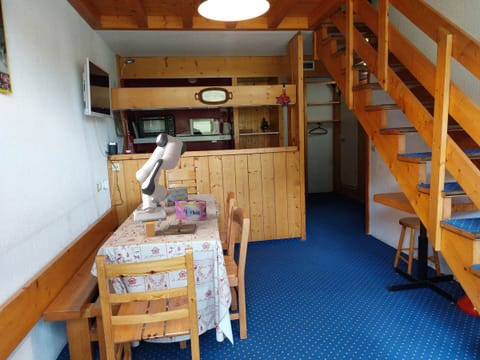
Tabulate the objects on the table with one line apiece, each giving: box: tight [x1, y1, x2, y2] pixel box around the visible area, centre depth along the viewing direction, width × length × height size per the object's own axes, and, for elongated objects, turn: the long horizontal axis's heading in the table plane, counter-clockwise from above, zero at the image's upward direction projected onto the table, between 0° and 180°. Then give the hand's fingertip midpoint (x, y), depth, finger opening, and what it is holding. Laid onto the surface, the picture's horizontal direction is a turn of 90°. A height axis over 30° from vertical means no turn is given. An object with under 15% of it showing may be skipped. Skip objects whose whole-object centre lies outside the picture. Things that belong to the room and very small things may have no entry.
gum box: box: [174, 199, 208, 222], centre depth 237 cm, size 24×8×14 cm, turn 64°
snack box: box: [164, 186, 189, 208], centre depth 292 cm, size 21×6×15 cm, turn 131°
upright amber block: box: [145, 221, 156, 238], centre depth 200 cm, size 5×5×8 cm
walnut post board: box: [163, 219, 197, 236], centre depth 208 cm, size 18×18×7 cm
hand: (150, 227), depth 200 cm, fingers open, 8 cm apart
